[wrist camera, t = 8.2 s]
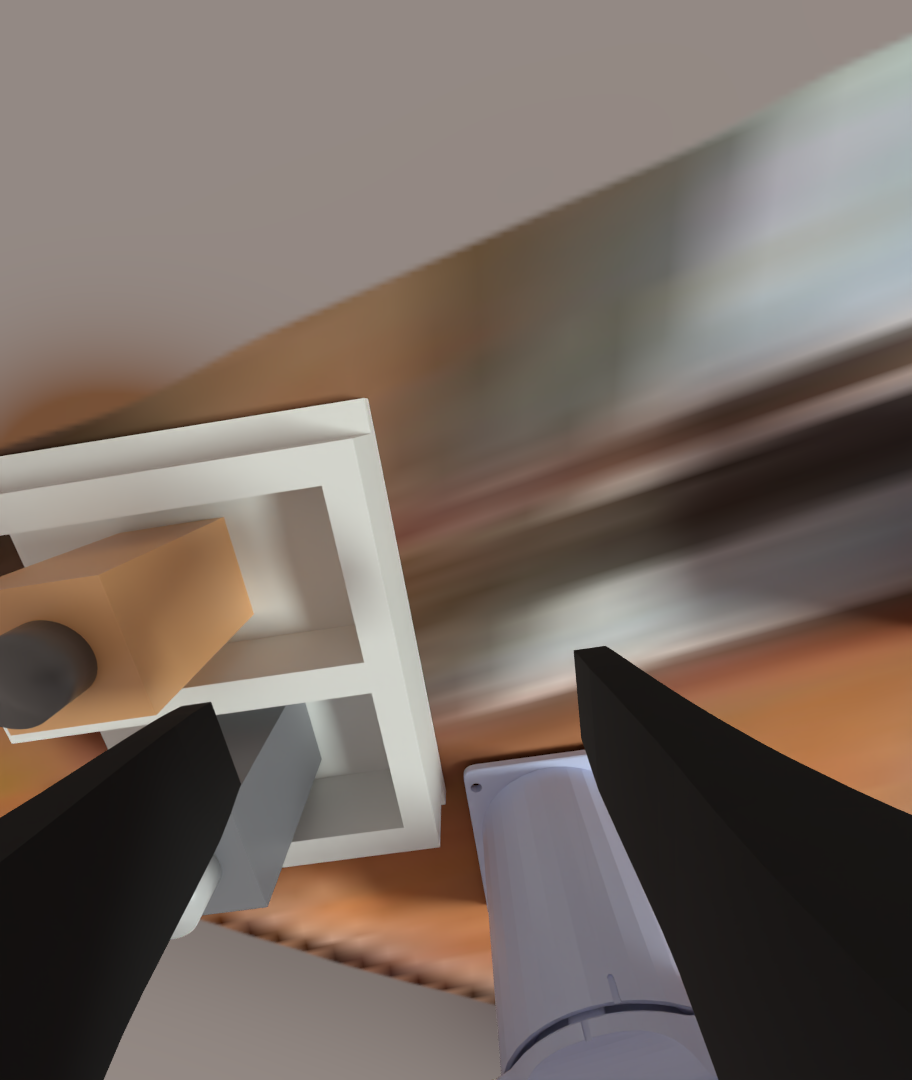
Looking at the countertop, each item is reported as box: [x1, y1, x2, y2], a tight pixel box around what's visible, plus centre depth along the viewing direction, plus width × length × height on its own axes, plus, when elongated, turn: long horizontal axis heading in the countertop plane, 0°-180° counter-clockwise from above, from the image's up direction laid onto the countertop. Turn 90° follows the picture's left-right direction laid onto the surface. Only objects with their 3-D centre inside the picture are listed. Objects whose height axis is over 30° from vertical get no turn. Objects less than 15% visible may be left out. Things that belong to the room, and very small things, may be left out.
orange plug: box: [0, 517, 254, 736], centre depth 13 cm, size 4×4×7 cm
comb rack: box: [0, 398, 446, 868], centre depth 17 cm, size 18×14×4 cm
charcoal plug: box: [170, 703, 322, 940], centre depth 15 cm, size 4×4×7 cm
